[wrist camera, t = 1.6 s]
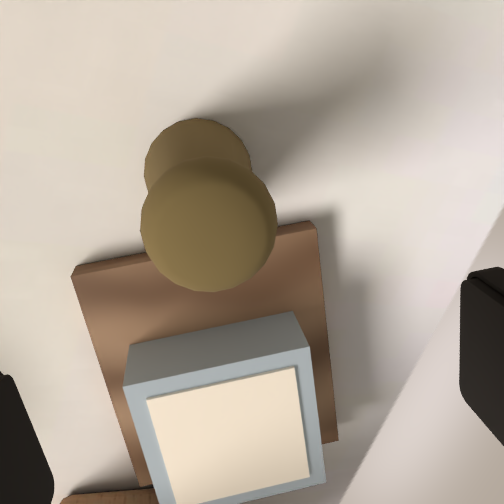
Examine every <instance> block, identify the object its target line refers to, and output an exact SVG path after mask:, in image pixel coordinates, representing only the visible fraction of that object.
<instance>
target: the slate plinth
mask: <svg viewBox="0 0 504 504" xmlns="http://www.w3.org/2000/svg"><path fill="white" fill-rule="evenodd" d="M123 390H124V393H125V396H126V400H127V403H128V406H129V409H130V412H131V416H132V419H133V422H134V425H135V428H136V431H137V435H138V438H139V441H140V444H141V447H142V451H143V454H144V457H145V460H146V463H147V466H148V470H149V473H150V476H151V479H152V482H153V486H154V489H155V492H156V495H157V498H158V502H159V504H240V503H244V502H248V501H252V500H256V499H260V498H264V497H269V496H273V495H277V494H281V493H285V492H289V491H294V490H298V489H302V488H306V487H310V486H314V485H318V484H323V483H326V475H325V467H324V459H323V451H322V443H321V435H320V426H319V418H318V410H317V402H316V394H315V386H314V378H313V369H312V361H311V353H310V346H309V344H308V342H307V340H306V338H305V336H304V333H303V331H302V329H301V327H300V325H299V323H298V321H297V319H296V317H295V315H294V312H293V311H290V312H285V313H280V314H275V315H270V316H266V317H261V318H256V319H251V320H247V321H242V322H237V323H232V324H228V325H223V326H218V327H213V328H208V329H204V330H199V331H194V332H189V333H185V334H180V335H175V336H170V337H165V338H161V339H156V340H151V341H146V342H142V343H137V344H132V345H129V350H128V356H127V363H126V369H125V375H124V381H123Z"/></svg>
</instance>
